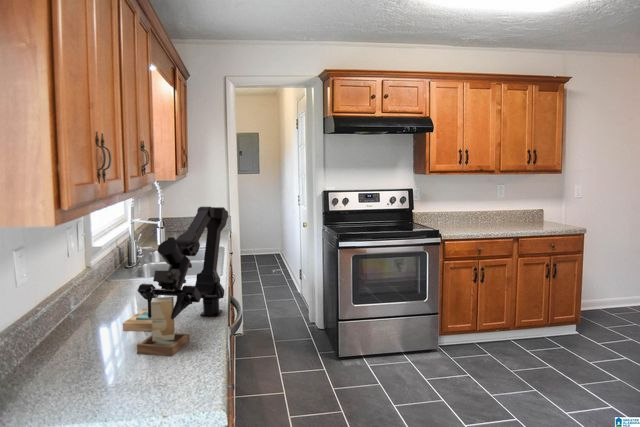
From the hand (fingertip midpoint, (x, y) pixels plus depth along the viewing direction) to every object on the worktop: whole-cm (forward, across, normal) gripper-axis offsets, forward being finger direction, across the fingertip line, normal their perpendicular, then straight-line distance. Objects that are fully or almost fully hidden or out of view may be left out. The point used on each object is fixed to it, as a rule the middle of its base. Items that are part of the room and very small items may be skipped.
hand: (160, 318), depth 151 cm
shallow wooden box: (-9, -17, +22) cm, 29 cm away
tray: (+6, 0, +7) cm, 9 cm away
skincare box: (+4, 0, +6) cm, 7 cm away
